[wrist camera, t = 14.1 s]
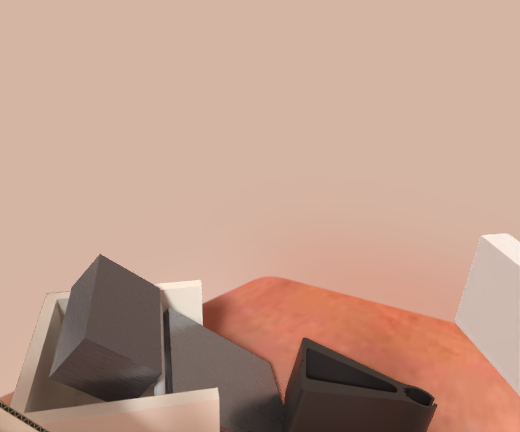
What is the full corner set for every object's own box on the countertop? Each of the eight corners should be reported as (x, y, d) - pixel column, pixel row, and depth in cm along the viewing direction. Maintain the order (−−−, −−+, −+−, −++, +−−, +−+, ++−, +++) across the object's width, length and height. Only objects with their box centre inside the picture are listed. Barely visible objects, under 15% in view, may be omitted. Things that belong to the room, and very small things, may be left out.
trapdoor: (47, 384, 30) (83, 343, 29) (72, 283, 39) (100, 250, 39) (278, 477, 39) (311, 448, 38) (253, 378, 49) (279, 353, 48)
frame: (38, 543, 35) (2, 428, 29) (68, 394, 47) (46, 293, 41) (232, 507, 37) (233, 397, 32) (212, 376, 50) (211, 278, 44)
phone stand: (302, 336, 45) (423, 373, 45) (285, 390, 46) (402, 426, 46) (301, 388, 36) (451, 435, 36) (280, 452, 38) (424, 498, 37)
